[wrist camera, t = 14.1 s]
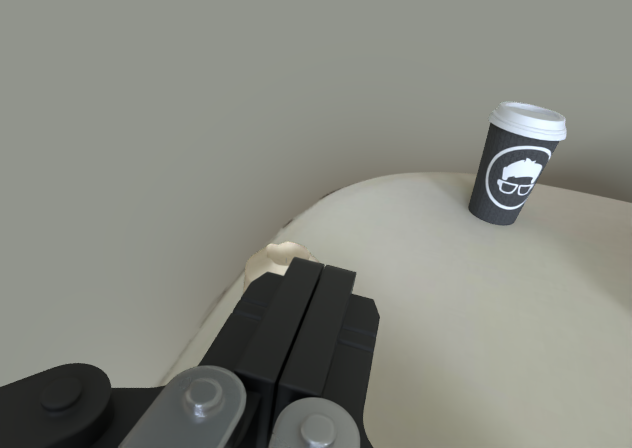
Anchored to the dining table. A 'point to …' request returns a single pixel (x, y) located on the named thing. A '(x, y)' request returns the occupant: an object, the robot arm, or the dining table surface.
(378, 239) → the dining table surface
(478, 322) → the dining table surface
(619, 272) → the dining table surface
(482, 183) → the coffee cup
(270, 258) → the candle
